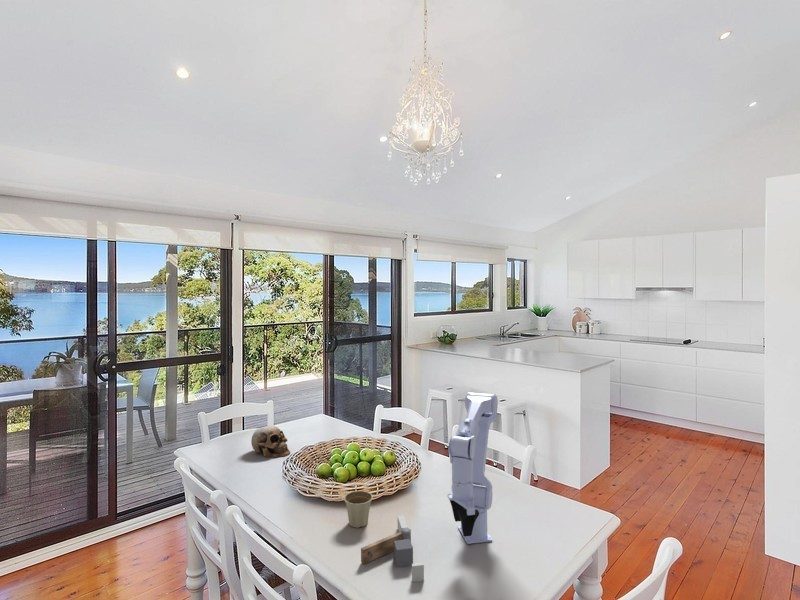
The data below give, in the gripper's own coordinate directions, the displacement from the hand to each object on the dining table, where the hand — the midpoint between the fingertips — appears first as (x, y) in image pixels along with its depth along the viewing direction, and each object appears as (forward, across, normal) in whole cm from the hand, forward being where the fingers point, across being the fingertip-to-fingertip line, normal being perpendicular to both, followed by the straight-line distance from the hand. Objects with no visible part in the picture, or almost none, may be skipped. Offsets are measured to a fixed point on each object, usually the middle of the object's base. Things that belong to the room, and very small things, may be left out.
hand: (462, 527), depth 120 cm
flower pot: (+10, -27, -27) cm, 39 cm away
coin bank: (+10, -99, -63) cm, 118 cm away
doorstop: (+10, -4, -16) cm, 20 cm away
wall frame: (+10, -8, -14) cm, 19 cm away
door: (+10, -8, -22) cm, 25 cm away
